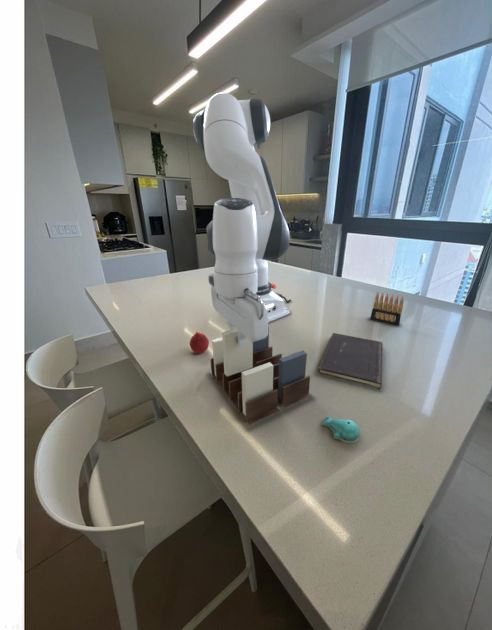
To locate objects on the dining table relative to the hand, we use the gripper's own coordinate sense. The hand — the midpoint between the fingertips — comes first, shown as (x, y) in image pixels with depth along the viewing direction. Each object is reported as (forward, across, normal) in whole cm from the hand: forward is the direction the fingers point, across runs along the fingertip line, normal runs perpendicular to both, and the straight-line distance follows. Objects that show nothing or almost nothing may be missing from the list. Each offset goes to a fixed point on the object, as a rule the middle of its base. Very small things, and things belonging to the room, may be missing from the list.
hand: (238, 341), depth 60 cm
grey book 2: (+14, -8, -10) cm, 19 cm away
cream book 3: (+14, -8, 0) cm, 16 cm away
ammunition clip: (+14, +7, -69) cm, 71 cm away
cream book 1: (+14, +8, 0) cm, 16 cm away
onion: (+15, +23, +2) cm, 27 cm away
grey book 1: (+14, +8, -10) cm, 19 cm away
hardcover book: (+15, -5, -36) cm, 39 cm away
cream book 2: (+8, 0, 0) cm, 8 cm away
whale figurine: (+15, -22, -12) cm, 29 cm away
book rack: (+15, 0, -5) cm, 16 cm away
